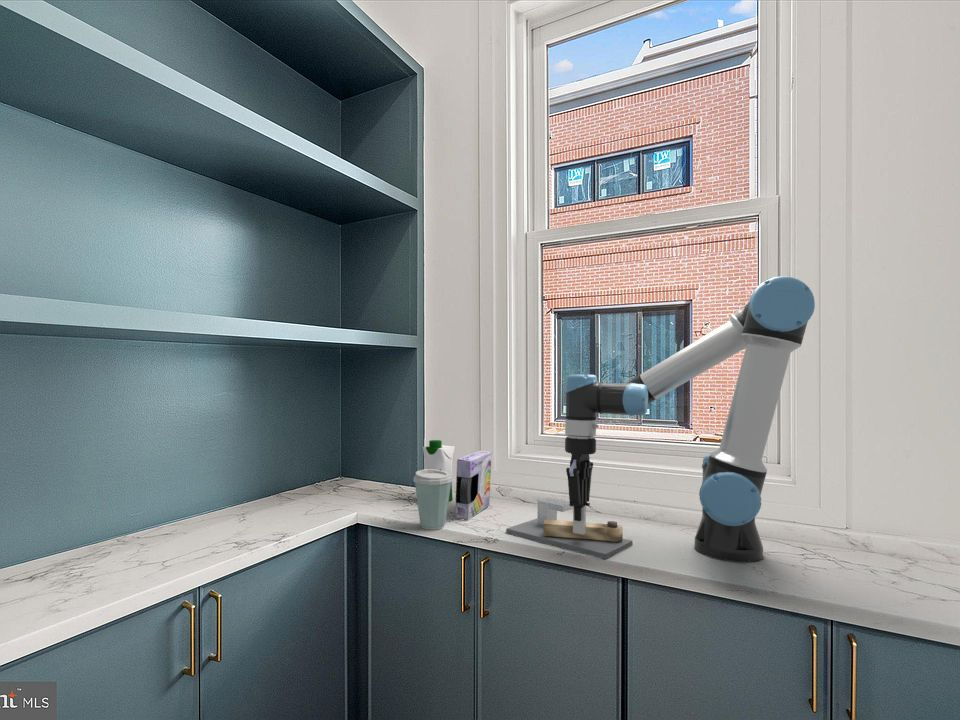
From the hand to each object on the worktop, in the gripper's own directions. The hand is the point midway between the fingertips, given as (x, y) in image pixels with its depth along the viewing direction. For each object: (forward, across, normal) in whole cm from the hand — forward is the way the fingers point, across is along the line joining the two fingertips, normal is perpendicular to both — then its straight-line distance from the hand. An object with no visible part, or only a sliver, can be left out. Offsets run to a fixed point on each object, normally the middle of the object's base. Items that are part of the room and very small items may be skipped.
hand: (579, 532), depth 131 cm
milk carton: (+4, +19, +55) cm, 59 cm away
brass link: (+2, +4, +1) cm, 4 cm away
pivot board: (+3, +4, +5) cm, 7 cm away
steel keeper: (+3, +10, +10) cm, 14 cm away
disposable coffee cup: (+4, -6, +40) cm, 40 cm away
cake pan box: (+4, +13, +38) cm, 40 cm away
